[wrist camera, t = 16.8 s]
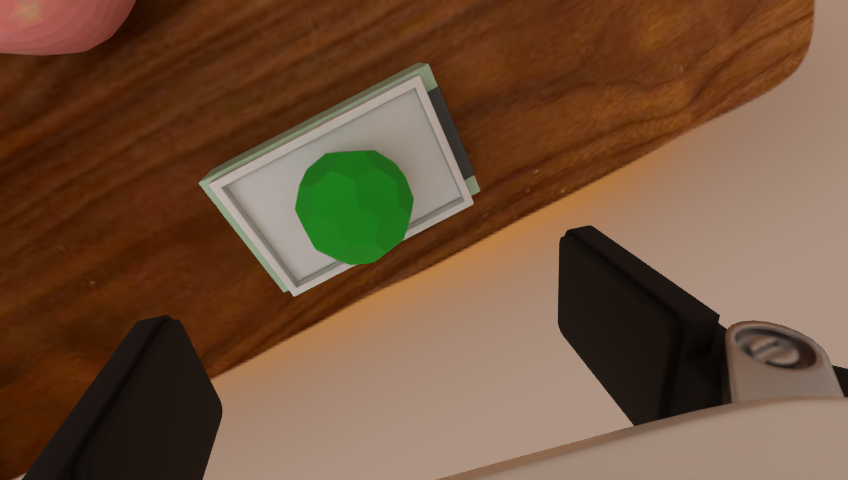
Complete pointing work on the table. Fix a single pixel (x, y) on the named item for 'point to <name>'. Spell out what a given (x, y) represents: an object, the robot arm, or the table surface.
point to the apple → (59, 24)
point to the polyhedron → (354, 205)
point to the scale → (338, 132)
